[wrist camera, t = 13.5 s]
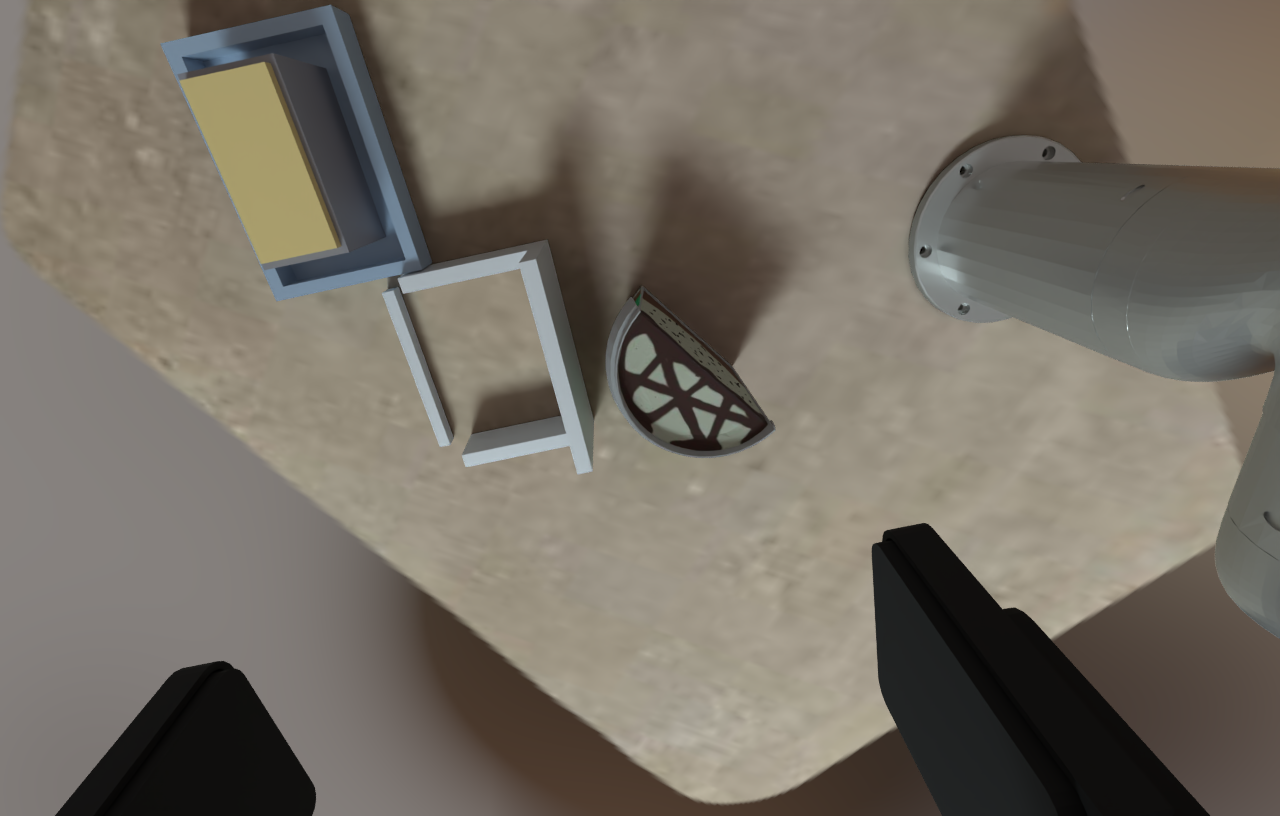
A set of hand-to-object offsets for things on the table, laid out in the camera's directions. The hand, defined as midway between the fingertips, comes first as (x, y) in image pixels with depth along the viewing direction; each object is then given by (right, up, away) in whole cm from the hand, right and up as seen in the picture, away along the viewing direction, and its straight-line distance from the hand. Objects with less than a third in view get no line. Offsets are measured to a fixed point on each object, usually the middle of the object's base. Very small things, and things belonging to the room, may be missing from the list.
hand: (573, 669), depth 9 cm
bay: (-10, +8, +35) cm, 38 cm away
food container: (+2, +8, +37) cm, 37 cm away
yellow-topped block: (-19, +19, +29) cm, 40 cm away
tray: (-20, +20, +30) cm, 41 cm away
